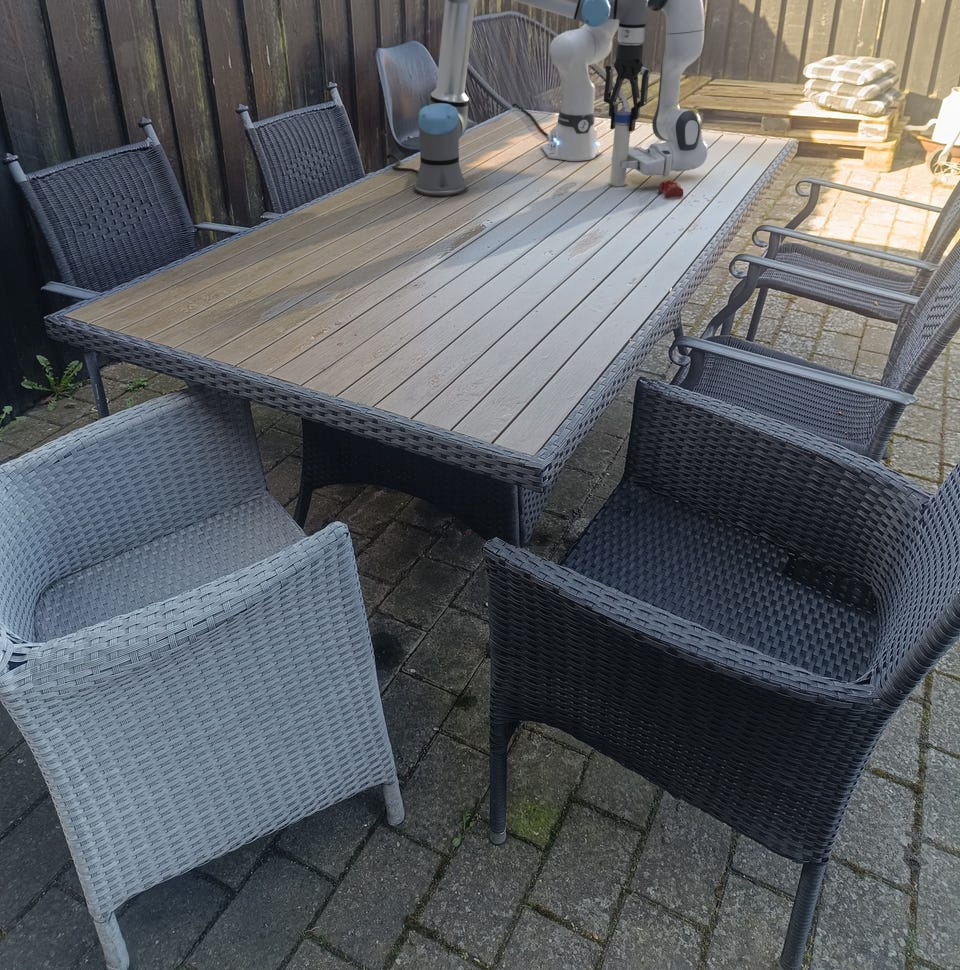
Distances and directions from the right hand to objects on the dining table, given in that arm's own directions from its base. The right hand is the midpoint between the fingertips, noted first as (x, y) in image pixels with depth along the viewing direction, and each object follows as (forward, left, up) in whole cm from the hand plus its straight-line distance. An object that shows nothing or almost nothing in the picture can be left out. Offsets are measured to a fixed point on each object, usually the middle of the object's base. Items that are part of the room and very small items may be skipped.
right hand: (616, 162), depth 259 cm
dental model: (+15, +11, -7) cm, 20 cm away
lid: (0, +1, +14) cm, 14 cm away
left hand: (0, +1, +9) cm, 10 cm away
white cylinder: (0, +1, -7) cm, 7 cm away
